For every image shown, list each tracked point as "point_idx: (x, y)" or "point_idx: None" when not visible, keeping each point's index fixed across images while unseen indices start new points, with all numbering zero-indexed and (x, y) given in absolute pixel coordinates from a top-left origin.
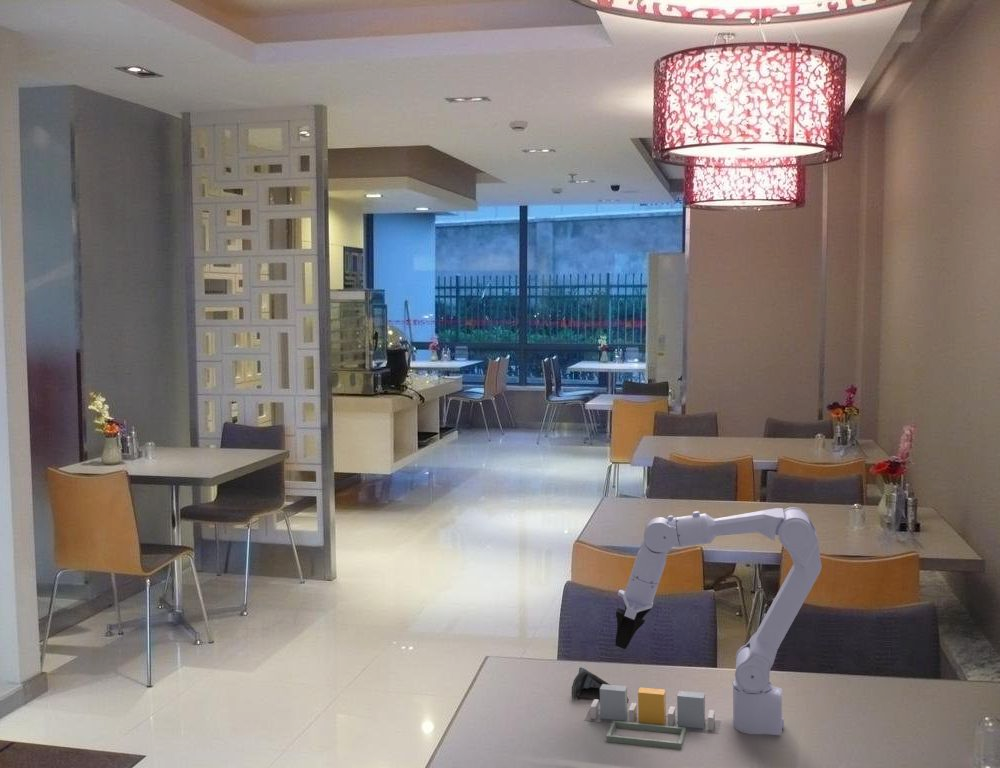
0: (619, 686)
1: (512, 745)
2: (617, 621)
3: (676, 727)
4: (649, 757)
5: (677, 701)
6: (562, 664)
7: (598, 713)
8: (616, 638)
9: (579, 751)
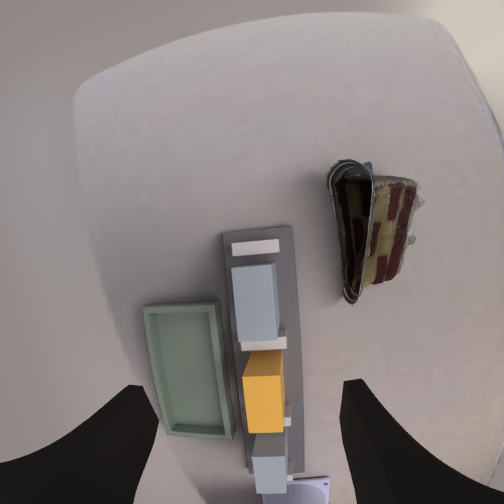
0: (267, 319)
1: (115, 144)
2: (20, 458)
3: (227, 426)
4: (142, 380)
5: (253, 449)
6: (480, 116)
7: (269, 253)
8: (106, 405)
9: (120, 260)
